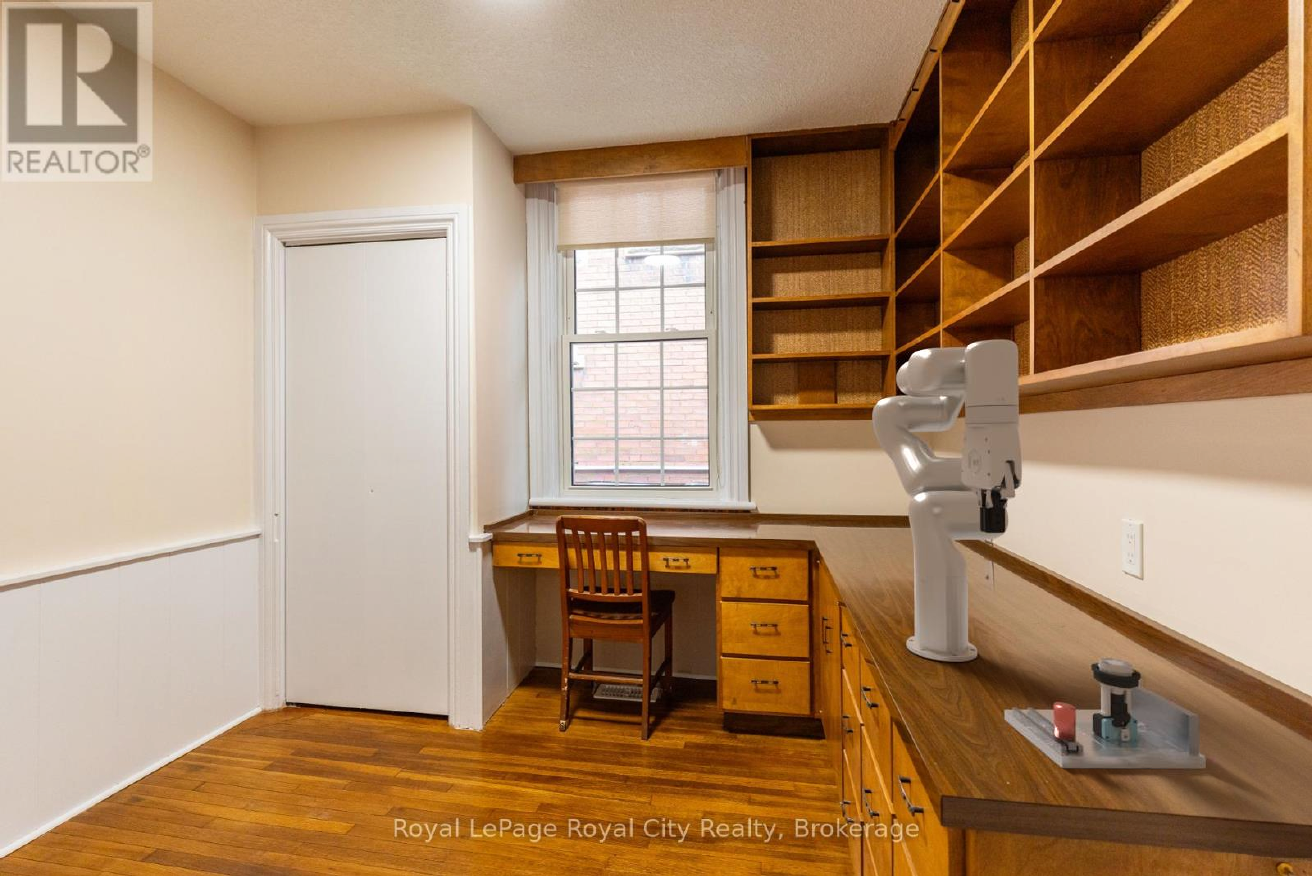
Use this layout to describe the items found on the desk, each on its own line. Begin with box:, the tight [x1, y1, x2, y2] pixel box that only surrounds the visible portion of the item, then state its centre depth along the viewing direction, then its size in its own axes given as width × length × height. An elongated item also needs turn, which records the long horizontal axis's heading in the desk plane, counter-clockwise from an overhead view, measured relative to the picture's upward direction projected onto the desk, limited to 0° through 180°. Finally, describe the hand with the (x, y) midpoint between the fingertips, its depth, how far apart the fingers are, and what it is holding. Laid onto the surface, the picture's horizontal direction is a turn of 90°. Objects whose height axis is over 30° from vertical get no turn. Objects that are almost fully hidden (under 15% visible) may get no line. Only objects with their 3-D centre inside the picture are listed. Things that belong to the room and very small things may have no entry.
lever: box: [1053, 701, 1077, 750], centre depth 78 cm, size 3×2×5 cm
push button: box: [1090, 657, 1145, 741], centre depth 80 cm, size 7×5×10 cm
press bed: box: [1004, 684, 1207, 770], centre depth 82 cm, size 13×18×6 cm
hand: (992, 532), depth 95 cm, fingers closed
